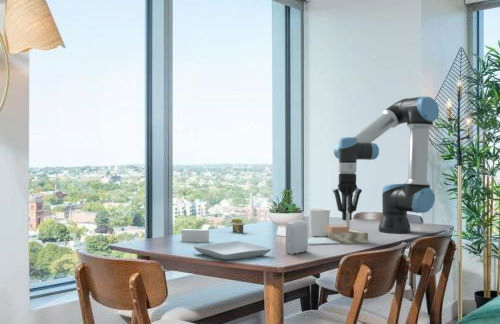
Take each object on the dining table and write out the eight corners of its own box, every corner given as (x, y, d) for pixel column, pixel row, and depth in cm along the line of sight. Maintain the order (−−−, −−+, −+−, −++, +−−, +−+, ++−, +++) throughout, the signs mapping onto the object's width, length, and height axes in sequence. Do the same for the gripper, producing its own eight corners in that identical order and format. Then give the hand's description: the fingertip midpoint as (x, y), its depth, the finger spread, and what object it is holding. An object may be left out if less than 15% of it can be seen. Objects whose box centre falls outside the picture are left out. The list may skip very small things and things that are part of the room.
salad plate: (223, 263, 192) (223, 253, 192) (192, 254, 209) (192, 245, 209) (272, 257, 205) (272, 248, 205) (239, 249, 222) (239, 240, 222)
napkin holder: (216, 242, 242) (216, 228, 242) (199, 245, 232) (199, 231, 232) (189, 239, 250) (189, 226, 250) (172, 242, 241) (172, 228, 241)
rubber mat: (325, 238, 251) (325, 237, 251) (340, 244, 236) (340, 242, 236) (295, 239, 247) (295, 238, 247) (308, 245, 232) (308, 243, 232)
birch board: (353, 238, 253) (353, 229, 253) (367, 242, 240) (367, 233, 240) (328, 238, 250) (328, 229, 250) (341, 243, 237) (341, 234, 237)
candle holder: (329, 237, 255) (329, 210, 255) (307, 236, 257) (307, 210, 257) (330, 234, 265) (330, 208, 265) (309, 233, 267) (309, 208, 267)
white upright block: (293, 255, 208) (293, 221, 208) (283, 253, 211) (284, 220, 211) (309, 251, 216) (309, 219, 216) (299, 250, 219) (300, 218, 219)
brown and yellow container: (238, 236, 260) (238, 222, 259) (215, 232, 273) (215, 218, 273) (258, 234, 267) (258, 220, 267) (234, 230, 281) (234, 217, 281)
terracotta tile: (341, 230, 249) (341, 224, 249) (348, 232, 241) (349, 227, 241) (324, 230, 247) (324, 225, 247) (331, 233, 239) (331, 227, 239)
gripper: (337, 173, 239) (336, 229, 240) (365, 173, 243) (364, 228, 243) (330, 172, 247) (329, 227, 247) (357, 172, 250) (356, 226, 250)
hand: (346, 227), depth 245 cm, fingers closed
